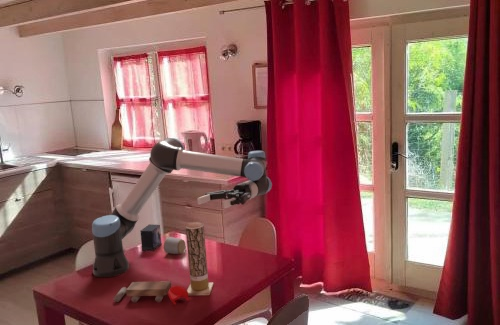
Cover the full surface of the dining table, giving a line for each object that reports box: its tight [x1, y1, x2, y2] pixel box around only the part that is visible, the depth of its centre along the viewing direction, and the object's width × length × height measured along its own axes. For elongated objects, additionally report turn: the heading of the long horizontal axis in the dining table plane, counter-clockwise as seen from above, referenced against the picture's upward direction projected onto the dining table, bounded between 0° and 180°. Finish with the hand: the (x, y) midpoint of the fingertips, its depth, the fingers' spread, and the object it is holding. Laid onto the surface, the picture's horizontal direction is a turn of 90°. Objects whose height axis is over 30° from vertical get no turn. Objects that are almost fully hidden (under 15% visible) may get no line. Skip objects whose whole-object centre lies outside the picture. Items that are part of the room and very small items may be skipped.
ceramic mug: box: [163, 236, 187, 255], centre depth 223 cm, size 11×8×8 cm
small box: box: [139, 223, 163, 252], centre depth 231 cm, size 11×6×10 cm, turn 168°
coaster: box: [186, 281, 214, 297], centre depth 180 cm, size 9×9×1 cm
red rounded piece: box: [167, 285, 190, 306], centre depth 171 cm, size 8×6×6 cm
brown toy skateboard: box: [113, 280, 172, 303], centre depth 177 cm, size 20×8×5 cm, turn 85°
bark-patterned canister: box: [185, 221, 209, 291], centre depth 178 cm, size 7×7×25 cm
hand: (210, 203), depth 182 cm, fingers open, 13 cm apart
